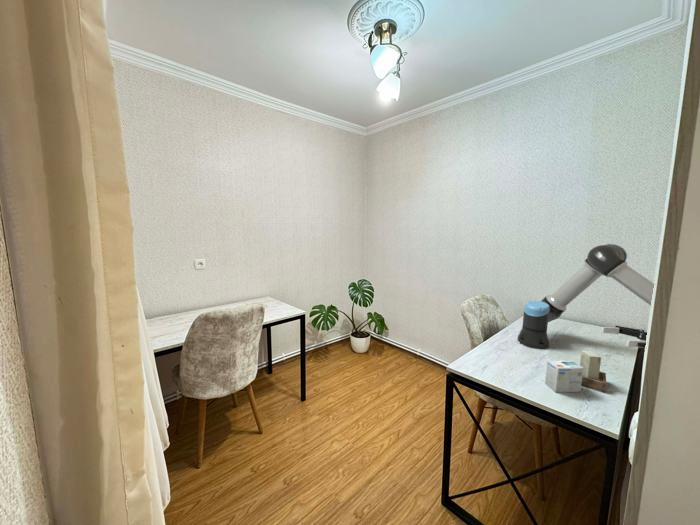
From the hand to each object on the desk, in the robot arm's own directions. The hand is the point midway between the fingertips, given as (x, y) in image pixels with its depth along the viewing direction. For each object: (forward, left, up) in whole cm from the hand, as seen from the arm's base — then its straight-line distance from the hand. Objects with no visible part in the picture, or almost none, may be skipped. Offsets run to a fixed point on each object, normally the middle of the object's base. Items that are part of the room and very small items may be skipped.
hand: (614, 336), depth 123 cm
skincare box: (-7, -11, -19) cm, 23 cm away
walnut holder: (-7, -11, -19) cm, 23 cm away
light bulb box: (-15, -24, -20) cm, 34 cm away
